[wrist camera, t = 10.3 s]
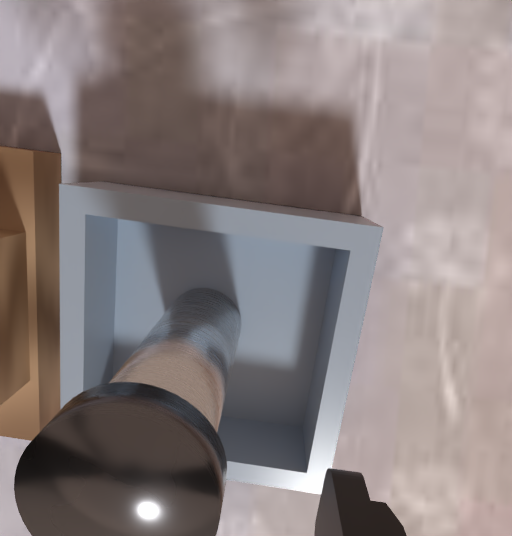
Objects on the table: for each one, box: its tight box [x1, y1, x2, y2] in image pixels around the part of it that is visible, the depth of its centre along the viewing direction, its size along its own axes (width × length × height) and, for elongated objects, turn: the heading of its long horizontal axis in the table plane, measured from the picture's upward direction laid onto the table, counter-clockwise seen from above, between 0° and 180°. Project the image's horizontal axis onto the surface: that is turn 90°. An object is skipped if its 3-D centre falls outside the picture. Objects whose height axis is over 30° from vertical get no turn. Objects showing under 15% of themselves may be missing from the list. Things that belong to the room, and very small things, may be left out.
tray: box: [59, 182, 383, 494], centre depth 17 cm, size 12×12×4 cm
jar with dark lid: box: [14, 288, 242, 536], centre depth 13 cm, size 5×5×10 cm
